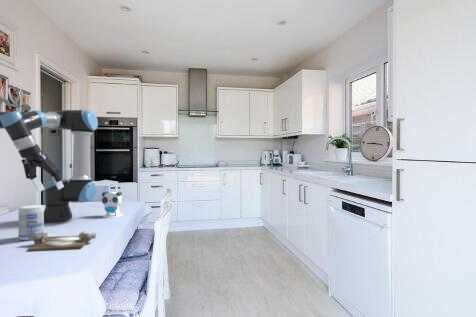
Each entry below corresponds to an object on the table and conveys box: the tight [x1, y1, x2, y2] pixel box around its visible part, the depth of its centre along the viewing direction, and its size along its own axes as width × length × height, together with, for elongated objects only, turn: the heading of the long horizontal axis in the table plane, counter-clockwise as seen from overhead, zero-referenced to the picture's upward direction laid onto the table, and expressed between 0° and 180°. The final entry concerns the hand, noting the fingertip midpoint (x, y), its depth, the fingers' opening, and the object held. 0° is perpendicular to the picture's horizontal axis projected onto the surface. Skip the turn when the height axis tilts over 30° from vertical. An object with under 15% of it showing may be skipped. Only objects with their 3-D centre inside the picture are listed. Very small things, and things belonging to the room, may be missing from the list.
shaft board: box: [27, 231, 97, 252], centre depth 124 cm, size 16×26×5 cm, turn 100°
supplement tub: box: [18, 204, 45, 241], centre depth 132 cm, size 10×10×15 cm
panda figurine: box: [101, 191, 123, 219], centre depth 177 cm, size 12×11×15 cm
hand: (51, 189), depth 129 cm, fingers open, 13 cm apart
